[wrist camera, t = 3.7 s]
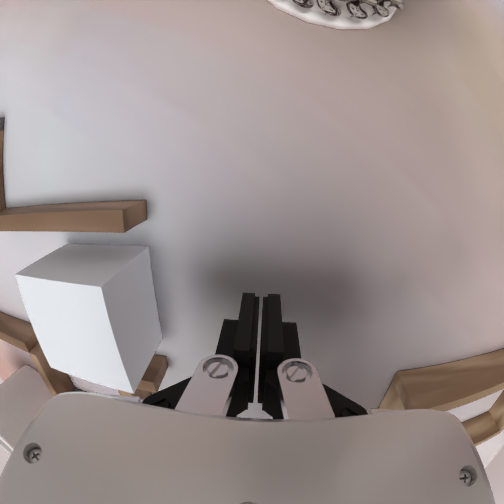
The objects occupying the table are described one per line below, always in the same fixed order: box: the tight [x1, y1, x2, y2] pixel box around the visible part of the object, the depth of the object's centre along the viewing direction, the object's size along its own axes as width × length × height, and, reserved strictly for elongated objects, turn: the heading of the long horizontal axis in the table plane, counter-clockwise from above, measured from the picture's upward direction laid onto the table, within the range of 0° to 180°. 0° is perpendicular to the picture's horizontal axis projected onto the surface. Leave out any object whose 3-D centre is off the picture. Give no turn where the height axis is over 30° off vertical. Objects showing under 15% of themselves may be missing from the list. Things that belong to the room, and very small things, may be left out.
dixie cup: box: [0, 365, 53, 455], centre depth 15 cm, size 8×8×10 cm
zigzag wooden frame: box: [0, 118, 168, 399], centre depth 14 cm, size 25×27×2 cm
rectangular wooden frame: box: [378, 348, 504, 446], centre depth 16 cm, size 13×22×4 cm, turn 88°
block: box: [15, 244, 163, 394], centre depth 13 cm, size 6×6×5 cm
